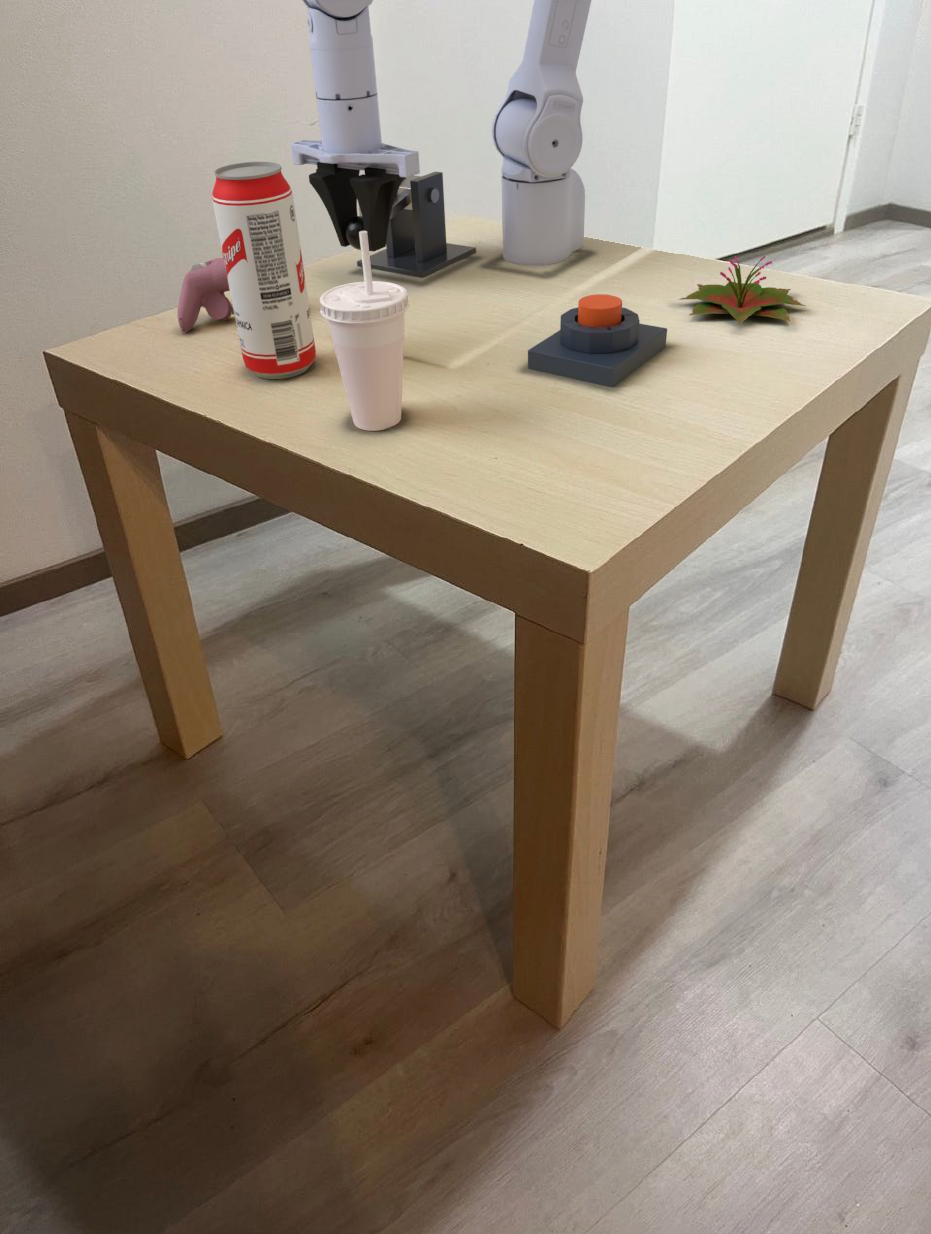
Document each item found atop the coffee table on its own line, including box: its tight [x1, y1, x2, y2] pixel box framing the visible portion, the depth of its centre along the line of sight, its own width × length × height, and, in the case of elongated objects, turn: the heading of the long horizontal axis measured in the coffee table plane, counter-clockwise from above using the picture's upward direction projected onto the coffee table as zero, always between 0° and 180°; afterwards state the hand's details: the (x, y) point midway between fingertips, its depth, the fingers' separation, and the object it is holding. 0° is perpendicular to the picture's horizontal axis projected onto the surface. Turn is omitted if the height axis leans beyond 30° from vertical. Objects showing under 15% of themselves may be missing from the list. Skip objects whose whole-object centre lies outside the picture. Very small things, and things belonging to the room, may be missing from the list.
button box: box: [527, 306, 668, 388], centre depth 79 cm, size 10×8×4 cm
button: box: [577, 293, 623, 327], centre depth 78 cm, size 4×4×2 cm
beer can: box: [211, 161, 317, 380], centre depth 77 cm, size 6×6×16 cm
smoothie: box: [319, 231, 410, 432], centre depth 68 cm, size 6×6×14 cm
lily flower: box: [677, 255, 806, 325], centre depth 87 cm, size 12×12×5 cm
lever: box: [346, 175, 422, 251], centre depth 96 cm, size 12×3×3 cm, turn 145°
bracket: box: [356, 171, 477, 279], centre depth 100 cm, size 10×9×9 cm
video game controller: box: [177, 257, 233, 333], centre depth 90 cm, size 10×5×7 cm, turn 84°
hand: (363, 246), depth 95 cm, fingers closed on lever, 3 cm apart
